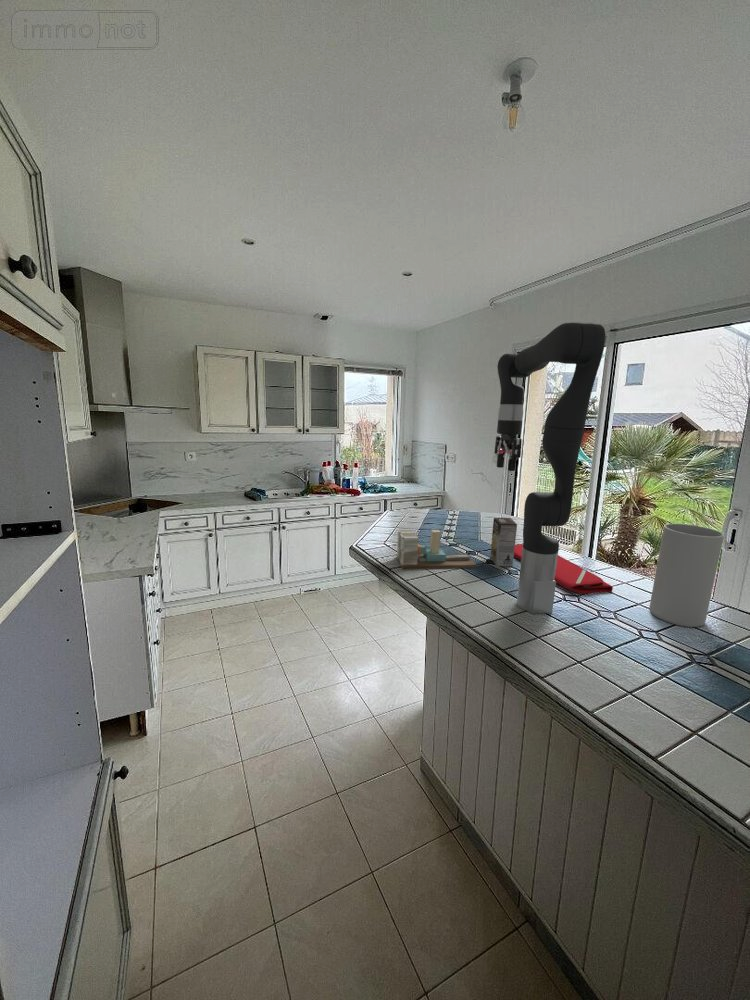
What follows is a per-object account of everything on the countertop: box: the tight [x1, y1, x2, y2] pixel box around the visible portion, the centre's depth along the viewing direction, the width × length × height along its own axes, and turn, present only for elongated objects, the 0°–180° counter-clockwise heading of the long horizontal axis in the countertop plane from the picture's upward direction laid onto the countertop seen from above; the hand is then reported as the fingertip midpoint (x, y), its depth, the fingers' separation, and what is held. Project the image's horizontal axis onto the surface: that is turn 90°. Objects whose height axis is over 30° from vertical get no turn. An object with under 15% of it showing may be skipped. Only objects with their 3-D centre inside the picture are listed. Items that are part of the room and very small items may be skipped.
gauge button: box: [418, 543, 421, 555], centre depth 145 cm, size 3×6×3 cm, turn 97°
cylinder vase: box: [649, 523, 725, 628], centre depth 108 cm, size 12×12×25 cm
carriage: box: [419, 529, 447, 562], centre depth 146 cm, size 6×9×11 cm, turn 97°
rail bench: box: [396, 530, 478, 570], centre depth 146 cm, size 12×27×11 cm, turn 97°
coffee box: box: [490, 517, 518, 567], centre depth 148 cm, size 9×6×16 cm
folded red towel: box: [514, 544, 614, 595], centre depth 144 cm, size 16×41×4 cm, turn 11°
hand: (505, 469), depth 133 cm, fingers open, 8 cm apart
